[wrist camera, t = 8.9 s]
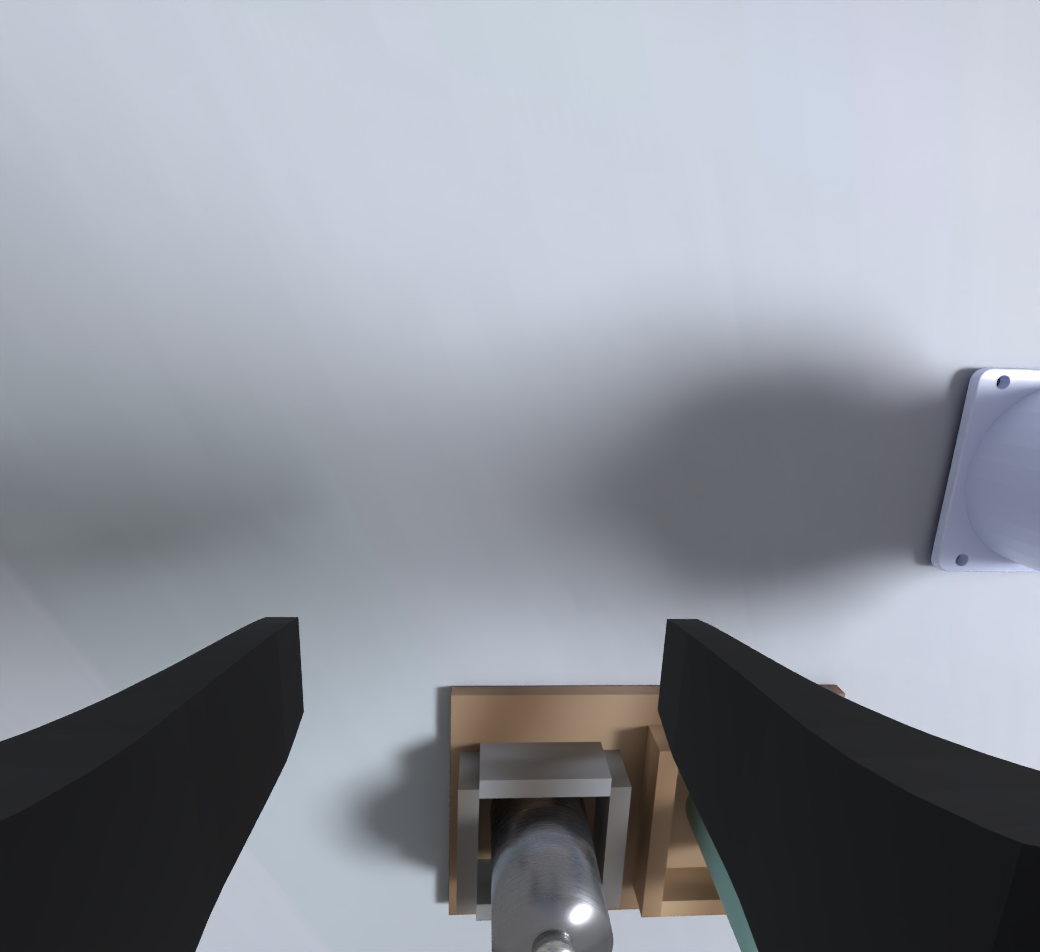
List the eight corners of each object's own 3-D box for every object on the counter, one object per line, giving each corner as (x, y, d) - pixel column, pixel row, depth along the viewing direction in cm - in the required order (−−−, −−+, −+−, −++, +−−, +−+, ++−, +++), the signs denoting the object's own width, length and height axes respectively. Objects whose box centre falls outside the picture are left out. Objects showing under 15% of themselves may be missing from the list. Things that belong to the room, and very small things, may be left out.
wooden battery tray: (836, 684, 23) (878, 725, 21) (797, 891, 26) (831, 949, 23) (451, 686, 22) (447, 729, 20) (449, 901, 25) (445, 964, 22)
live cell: (759, 750, 23) (848, 887, 17) (789, 820, 24) (884, 974, 18) (672, 786, 23) (731, 933, 17) (704, 855, 24) (771, 1017, 18)
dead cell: (586, 768, 23) (622, 914, 17) (581, 846, 24) (612, 1011, 18) (491, 770, 23) (493, 919, 17) (489, 849, 24) (490, 1017, 18)
